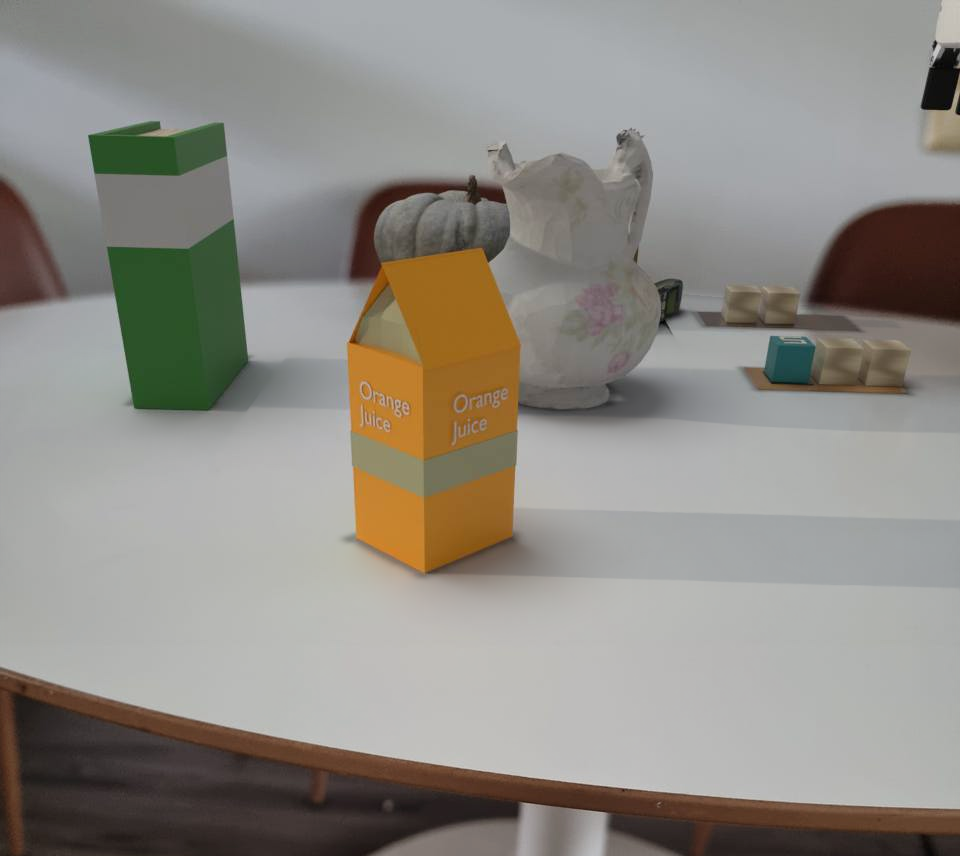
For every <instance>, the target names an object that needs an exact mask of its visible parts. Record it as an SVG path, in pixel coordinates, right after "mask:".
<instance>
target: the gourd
mask: <svg viewBox="0 0 960 856" xmlns="http://www.w3.org/2000/svg"><path fill="white" fill-rule="evenodd" d="M509 236H510V214H509V210H508V206H507V203H501V202H498V201H492V200H489V199H488V198H486V197H482V195H481V192H480V189H479V186H478V180H477V178H476V175H474V174H470V175H469V176H468V181H467V191H465V190H447V191H444V192H441V193H438V194H437V193H434V192H423V193H417V194H413V195H410V196H408V197H407V198H405V199H400V200H397V201H394V202H393V203H390V204H389V205H388V206H386V207H385V208H384V210H382V212H381V213H380V215H379V216H378V218H377V221H376V224H375V227H374V232H373V242H374V243H373V244H374V248H375V252H376V255H377V259H378V261H379V263H380V265H381V267H382V264H381V263H384V262H391V261H397V260H404V259H410V258H417V257H424V256H430V255H437V254H443V253H450V252H457V251H463V250H470V249H476V248H482V249H483V251H484V254H485V256H486V259H487V261H488V263H489V262H490V261H491V260H493V259H494V258H495V257H496V256H497V255H498V254H499V253H500V252H501V251H502V250H503V249H504V247H505V245H506V243H507V240H508V238H509Z"/></svg>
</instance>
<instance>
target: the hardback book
mask: <svg viewBox="0 0 960 856" xmlns="http://www.w3.org/2000/svg"><path fill="white" fill-rule="evenodd" d="M225 130H226V129H225V123H224V122H212V123H208V124H205V125H201V126H198V127H193V128H191V129H177V128H176V129H175V128H173V129H172V128H162V127H161V121H160V120H149V121H144V122H141V123H136V124H130V125H126V126H122V127H118V128H113V129H110V130H105V131H100V132H96V133H91V134H87V137H88V145H89V149H90V150H89V151H90V155H91V161H92V168H93V175H94V179H95V185H96V191H97V197H98V203H99V209H100V214H101V215H100V216H101V221H102V228H103V232H104V238H105V244H106V250H107V257H108V262H109V268H110V274H111V280H112V287H113V291H114V297H115V303H116V310H117V315H118V316H117V317H118V322H119V327H120V333H121V340H122V347H123V350H124V356H125V363H126V368H127V376H128V380H129V381H128V382H129V386H130V391H131V398H132V405H133V409H149V410H188V411H189V410H191V411H210V410H211V408H212V407H213V406H214V405H215V404H216V402H217V401H218V400H219V398H220V397H221V395H222V394H223V393H224V392H225V391H226V389H227V388H228V387H229V386H230V384H231V383H232V382H233V380H235V378H236V377H237V376H238V374H239V373H240V372H241V370H242V369H243V368H244V367H245V365H246V364H247V363H248V362H249V353H248V343H247V334H246V325H245V316H244V314H245V313H244V305H243V295H242V285H241V276H240V267H239V266H240V265H239V256H238V247H237V237H236V236H237V235H236V226H235V218H234V217H235V216H234V209H233V199H232V189H231V179H230V170H229V161H228V152H227V151H228V150H227V139H226V131H225Z"/></svg>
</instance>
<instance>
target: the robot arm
mask: <svg viewBox="0 0 960 856" xmlns="http://www.w3.org/2000/svg"><path fill="white" fill-rule="evenodd" d="M932 43H933V44H932V46H931V47H932V54H931V56H930V59H929V63H928V64H929V68H928V71H927V72H928V73H927V76H926V80H925V84H924V90H923V93H922V98H921V103H920V109H922V110H923V111H950V110H952V108H953V104H954V99H955V95H956V91H957V88H958V87H957V86H958V84H959V78H960V67H958V66H959V64H960V0H941V4H940V8H939V12H938V17H937V21H936V25H935V36H934V41H933V42H932ZM954 111H955V115H957V116H960V93H958V98H957V102H956V106H955V110H954Z"/></svg>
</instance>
